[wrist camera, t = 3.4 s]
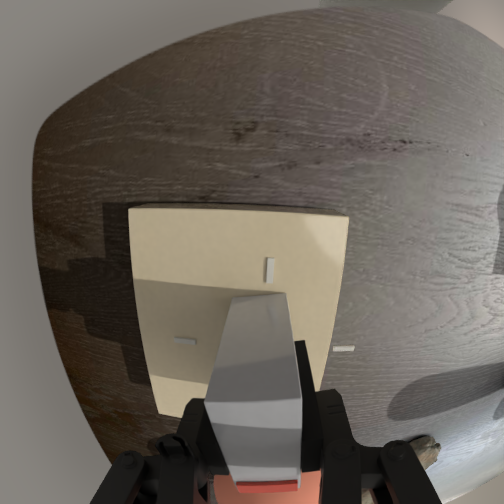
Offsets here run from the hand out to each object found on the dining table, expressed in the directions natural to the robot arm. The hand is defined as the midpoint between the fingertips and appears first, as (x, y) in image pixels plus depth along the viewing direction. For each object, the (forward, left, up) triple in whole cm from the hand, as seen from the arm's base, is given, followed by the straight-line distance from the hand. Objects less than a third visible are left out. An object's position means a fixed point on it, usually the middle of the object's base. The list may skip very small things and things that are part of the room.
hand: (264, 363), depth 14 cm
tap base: (0, -2, -5) cm, 5 cm away
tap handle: (0, 0, -2) cm, 2 cm away
